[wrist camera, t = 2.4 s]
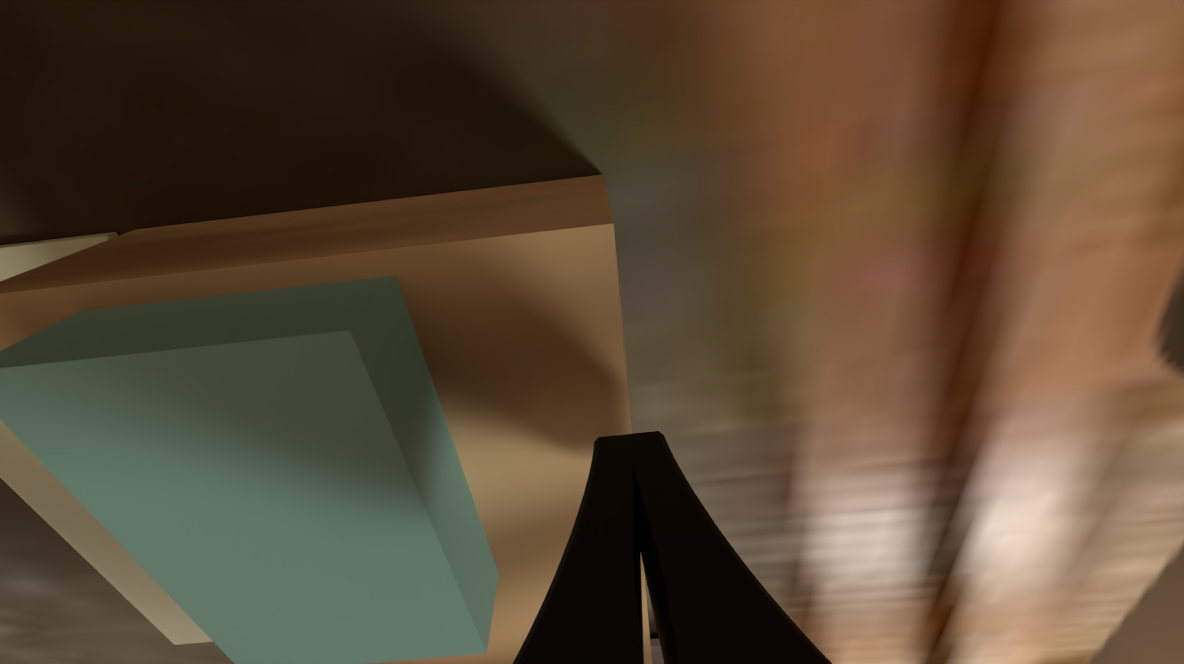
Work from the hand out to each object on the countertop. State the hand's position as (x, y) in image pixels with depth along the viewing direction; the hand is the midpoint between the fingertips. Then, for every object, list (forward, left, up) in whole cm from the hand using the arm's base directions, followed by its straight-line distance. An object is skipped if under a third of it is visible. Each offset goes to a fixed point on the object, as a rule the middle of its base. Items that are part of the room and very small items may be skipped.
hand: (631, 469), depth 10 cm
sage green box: (0, +7, -1) cm, 7 cm away
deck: (-4, +6, -5) cm, 9 cm away
